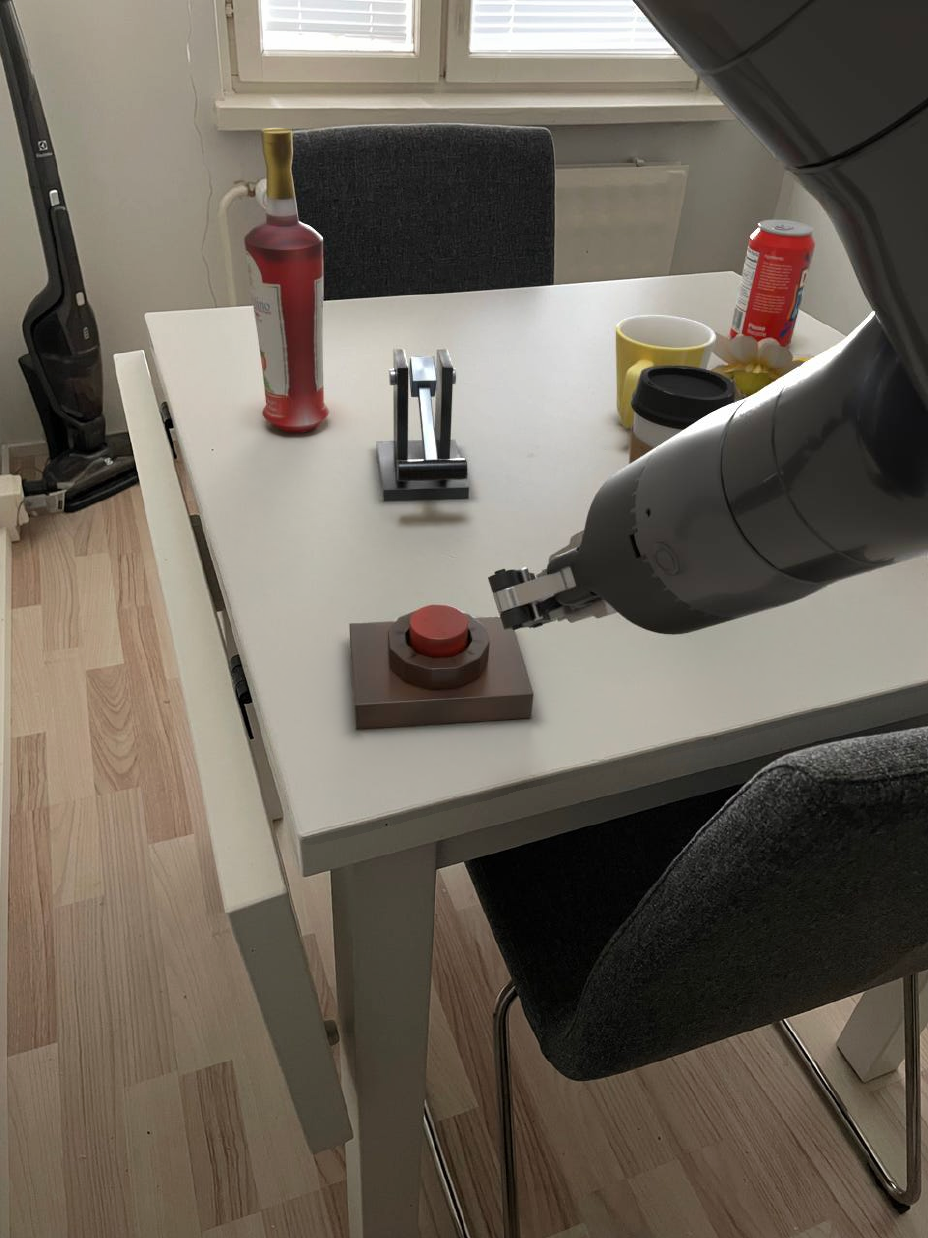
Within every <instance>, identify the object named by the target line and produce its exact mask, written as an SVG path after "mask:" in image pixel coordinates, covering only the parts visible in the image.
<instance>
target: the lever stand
mask: <svg viewBox="0 0 928 1238" xmlns="http://www.w3.org/2000/svg"><path fill="white" fill-rule="evenodd" d="M392 352H393V353H392V354H393V357H392V359H393V363H392V364H393V366H392V367H393V368H390V369H388V370H389V371H388V379H389V385H390V386H393V390H392V391H393V397H392V399H393V409H392V410H393V412H392V413H393V440H377V441H376V458H377V465H378V472H379V479H380V485H381V493H382V499H383V502H391V501H392V502H395V501H397V502H398V501H422V500H423V501H424V500H426V501H427V500H454V499H455V500H456V499H459V500H460V499H469V497H470V485H469V482H468V477H467V478H466V479H462V480H428V481H398V479H397V461H398V460H424V453H423V443H422V439H418V440H417V439H416V440H415V439H414V440H412V439H411V440H409V364H408V359H407V355H406V351H405V348H394V349H393V351H392ZM435 369H436V378H437V383H436V391H435V400H434V401H435V403H434V405H435V406H434V408H435V409H434V428H435V438H436V447H437V457H438V459H462V458H461V455H460V451H459V448H458V444H457V440H456V439H452V416H453V414H452V413H453V391H454V390H453V389H454V388H453V387H454V385H456V384H457V371H456V368H455V367H454V365H453V363H452V359H451V356H450V353H449V350H448V348H436V360H435Z"/></svg>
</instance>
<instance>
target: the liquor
mask: <svg viewBox="0 0 928 1238" xmlns="http://www.w3.org/2000/svg"><path fill="white" fill-rule="evenodd" d="M260 134H261V135H260V136H261V146H262V147H261V149H262V154H263V158H264V164H265V167H266V188H265V189H266V190H265V191H266V197H265V198H266V199H265V200H266V201H265V203H266V204H265V205H266V208H265V209H266V210H265V221H264V222H262V223H260V224H257V225H255V226H254V227H253V228H252V229H251V230H250V231H249V232H248V233H247V234H246V235H245V236H244V238H243V239H244V240H243V241H244V242H243V243H244V248H245V255H246V263H247V270H248V271H247V272H248V279H249V286H250V293H251V301H252V309H253V312H254V313H253V314H254V319H255V326H256V333H257V339H258V347H259V355H260V362H261V363H260V364H261V370H262V380H263V388H264V396H265V397H264V398H265V406H264V407H263V409H262V417H263V418H264V419H265V420H266V421H268V422H269V423H270V424H271V425H272V426H274V427H275V428H277V429H278V430H279V431H281V432H282V431H283V432H285V433H290V434H299V433H301V434H302V433H307V432H311V431H312V430H315V429H316V428H317V427H318V426H319V425H320V424H321V423H323V421H324V420H325V419H326V418H327V417H328V416H329V412H330V411H329V410H330V409H329V407H328V406H327V405H326V403H325V392H324V391H325V390H324V389H325V388H324V386H325V385H324V237H323V236H322V235H321V234H320V233H319V232H318V231H317V230H315V229H314V228H313V227H312V226H310V225H308V224H306V223H303V222H302V221H300V220H299V219H300V218H299V212H298V206H297V200H296V192H295V186H294V178H293V172H292V163H293V156H294V155H293V154H294V148H293V147H294V146H293V131H292V130H291V129H288V128H285V127H284V128H283V127H267V128H262V129H261V130H260Z"/></svg>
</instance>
